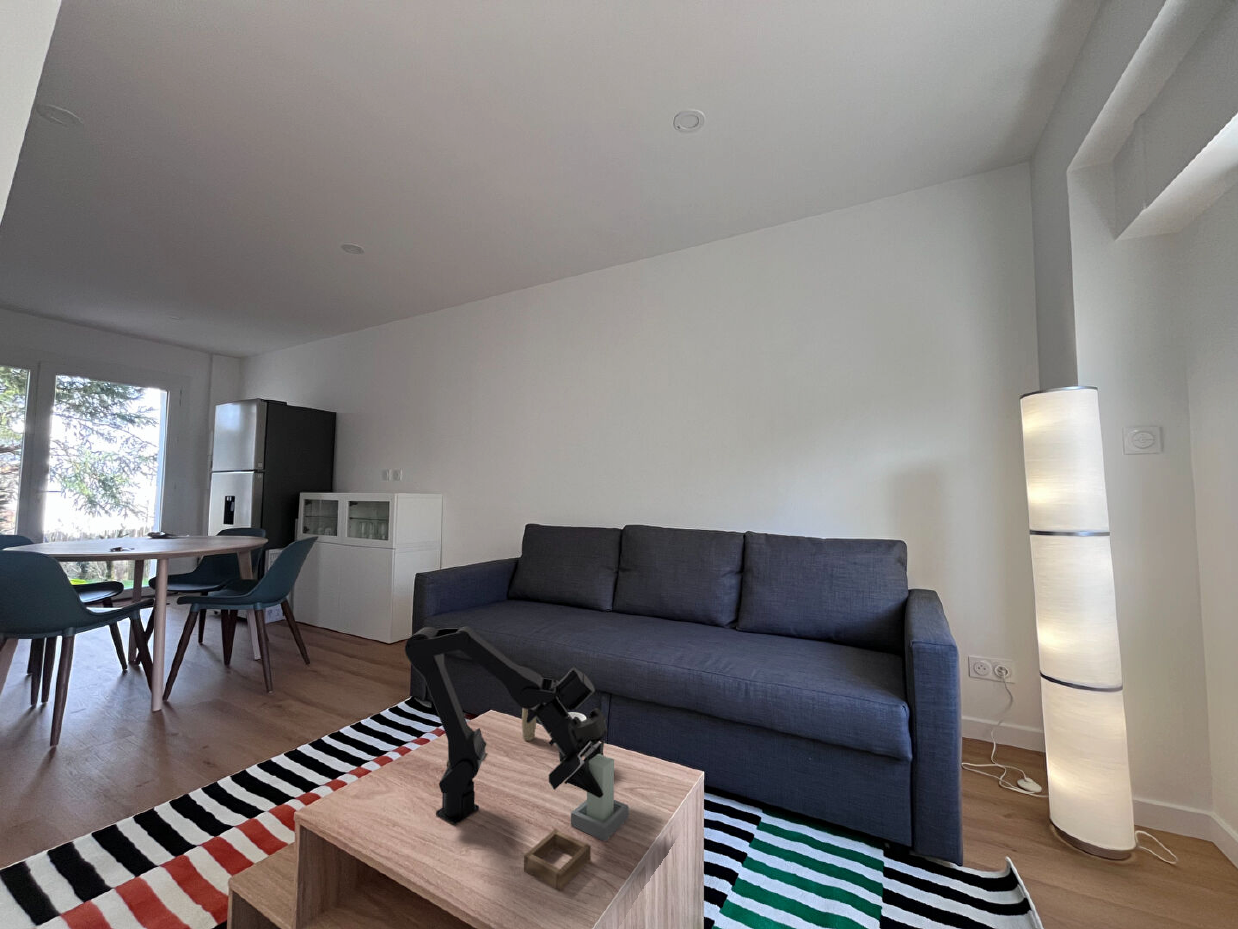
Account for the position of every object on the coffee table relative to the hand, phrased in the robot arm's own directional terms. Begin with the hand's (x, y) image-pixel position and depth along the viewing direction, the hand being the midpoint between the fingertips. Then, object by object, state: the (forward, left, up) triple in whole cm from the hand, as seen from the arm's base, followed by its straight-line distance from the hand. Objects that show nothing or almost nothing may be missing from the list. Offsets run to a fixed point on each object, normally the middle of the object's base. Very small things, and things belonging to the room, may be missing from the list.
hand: (606, 789), depth 100 cm
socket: (-1, 0, -7) cm, 7 cm away
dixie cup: (-20, +14, -7) cm, 25 cm away
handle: (-38, +18, -7) cm, 43 cm away
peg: (-1, 0, -7) cm, 7 cm away
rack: (-1, -14, -7) cm, 16 cm away
